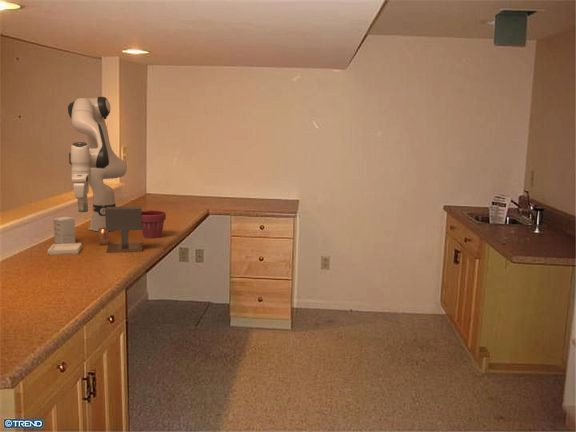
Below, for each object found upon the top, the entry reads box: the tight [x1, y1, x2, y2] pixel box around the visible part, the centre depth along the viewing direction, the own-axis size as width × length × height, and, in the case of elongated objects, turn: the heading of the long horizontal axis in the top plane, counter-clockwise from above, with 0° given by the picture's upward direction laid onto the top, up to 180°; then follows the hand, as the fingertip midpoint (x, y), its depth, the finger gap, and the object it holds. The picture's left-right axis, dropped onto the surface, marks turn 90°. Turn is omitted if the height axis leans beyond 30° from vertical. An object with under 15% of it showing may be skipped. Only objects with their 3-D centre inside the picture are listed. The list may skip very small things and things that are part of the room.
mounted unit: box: [105, 205, 144, 254], centre depth 271 cm, size 12×16×20 cm
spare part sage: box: [77, 194, 89, 213], centre depth 276 cm, size 4×4×8 cm
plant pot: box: [141, 210, 167, 239], centre depth 300 cm, size 14×14×13 cm
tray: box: [47, 242, 83, 256], centre depth 267 cm, size 13×13×2 cm
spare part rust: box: [97, 228, 110, 247], centre depth 281 cm, size 4×4×8 cm
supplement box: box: [53, 216, 77, 244], centre depth 282 cm, size 7×7×13 cm
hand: (82, 205), depth 276 cm, fingers closed on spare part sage, 4 cm apart
